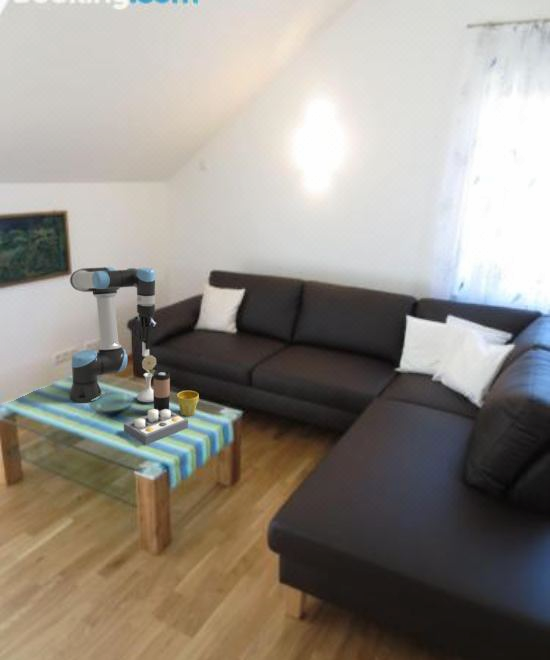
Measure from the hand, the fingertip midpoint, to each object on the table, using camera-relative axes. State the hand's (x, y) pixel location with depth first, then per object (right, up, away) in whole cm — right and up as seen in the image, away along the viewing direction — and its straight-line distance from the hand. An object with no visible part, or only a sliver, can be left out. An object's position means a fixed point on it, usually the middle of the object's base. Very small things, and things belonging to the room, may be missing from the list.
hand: (145, 355), depth 221 cm
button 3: (+7, -31, +8) cm, 33 cm away
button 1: (-2, -33, -2) cm, 33 cm away
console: (+4, -34, +2) cm, 34 cm away
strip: (+8, -31, -2) cm, 32 cm away
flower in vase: (-6, -25, +31) cm, 40 cm away
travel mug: (+2, -28, +20) cm, 35 cm away
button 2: (+3, -30, +2) cm, 30 cm away
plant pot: (+15, -29, +20) cm, 39 cm away
